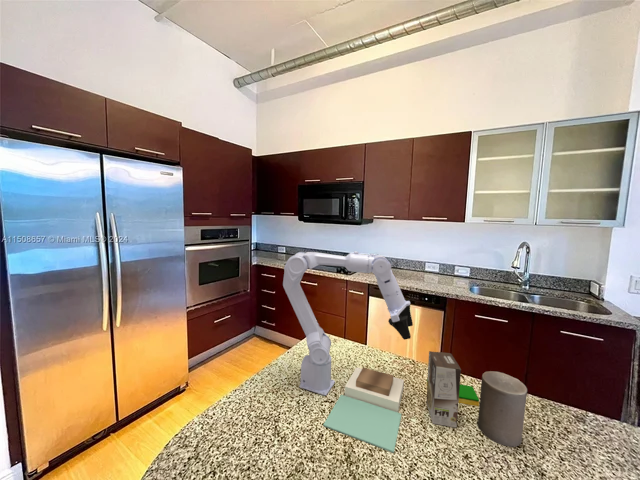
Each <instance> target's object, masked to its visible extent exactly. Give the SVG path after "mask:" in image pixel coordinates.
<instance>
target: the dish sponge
mask: <svg viewBox="0 0 640 480" xmlns="http://www.w3.org/2000/svg"><path fill="white" fill-rule="evenodd" d="M427 381H428V378H426V386H427ZM458 404H463V405H469V406H474V407H479V405H480V397H479V396H478V395H477V393H476V390H475V389H474V386H472V385H465V384H461V383H460V390H459V403H458Z"/></svg>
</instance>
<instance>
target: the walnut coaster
mask: <svg viewBox="0 0 640 480" xmlns="http://www.w3.org/2000/svg"><path fill="white" fill-rule="evenodd" d="M361 369H362V370H361V372H360V374H359V376H358V378H357V379H356V387H359V388H362V389H366V390H369V391H373V392H376V393H379V394H383V395H386V396H389V394H390V391H391V387H392V384H393V377H394V375H393V374H389V373H386V372H381V371H377V370H374V369H371V368H366V367H362V368H361Z"/></svg>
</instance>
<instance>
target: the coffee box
mask: <svg viewBox="0 0 640 480" xmlns="http://www.w3.org/2000/svg"><path fill="white" fill-rule="evenodd" d="M427 365H428V366H427V379H428V381H427V380H426V383H427V385H426V406H427V409H428V412H429V415H430V418H431V419H430V420H431V422H432V424H434V425H441V426H446V427H452V428H457V427H458V418H459V417H458V415H459V404H460V403H459V390H460V384H461V376H462V375H461V373H462V369H461V367H460V365H459V363H458V362H457V361H456V359H455V357H454V356H453V354H452V353H449V352H441V351H428V364H427Z"/></svg>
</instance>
